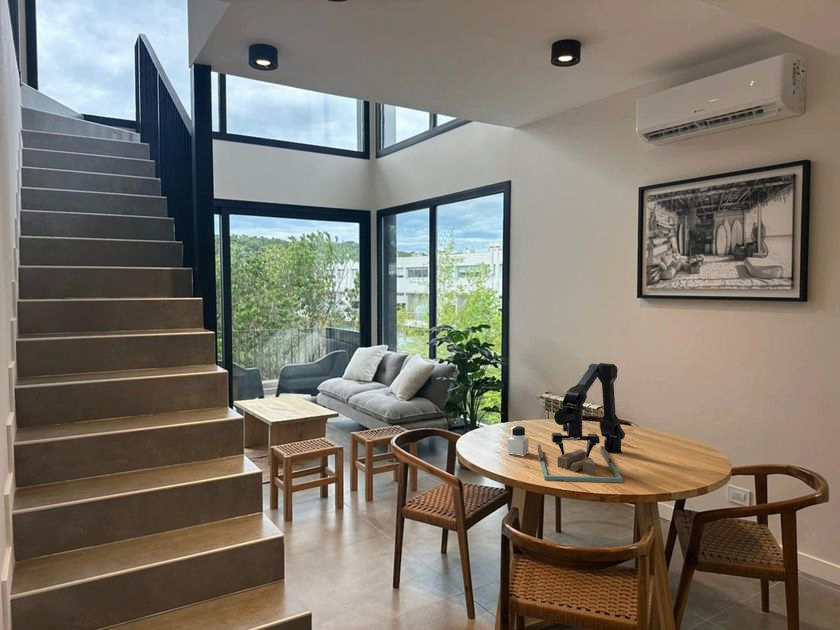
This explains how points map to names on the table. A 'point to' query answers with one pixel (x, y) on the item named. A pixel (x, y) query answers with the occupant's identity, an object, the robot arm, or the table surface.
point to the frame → (584, 478)
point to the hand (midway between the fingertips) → (575, 458)
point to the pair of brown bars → (602, 450)
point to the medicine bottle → (518, 441)
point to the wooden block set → (577, 462)
